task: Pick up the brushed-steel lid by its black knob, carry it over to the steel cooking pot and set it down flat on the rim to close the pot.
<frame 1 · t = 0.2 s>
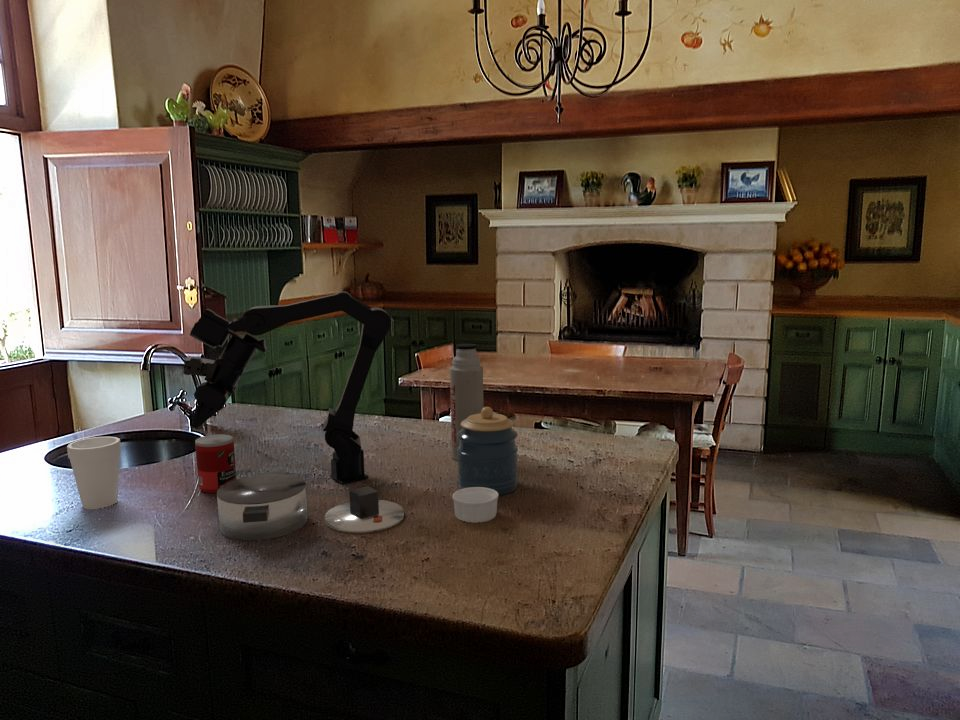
hand: (197, 422, 152), 15 cm above the worktop, tool tilted 30°, fingers open, 9 cm apart
canister: (487, 487, 153), on the worktop
foam cup: (100, 504, 146), on the worktop
ramekin: (475, 516, 137), on the worktop
thermos bottle: (468, 457, 174), on the worktop
lid: (364, 519, 137), on the worktop
pot: (264, 522, 134), on the worktop
canned food: (218, 488, 155), on the worktop
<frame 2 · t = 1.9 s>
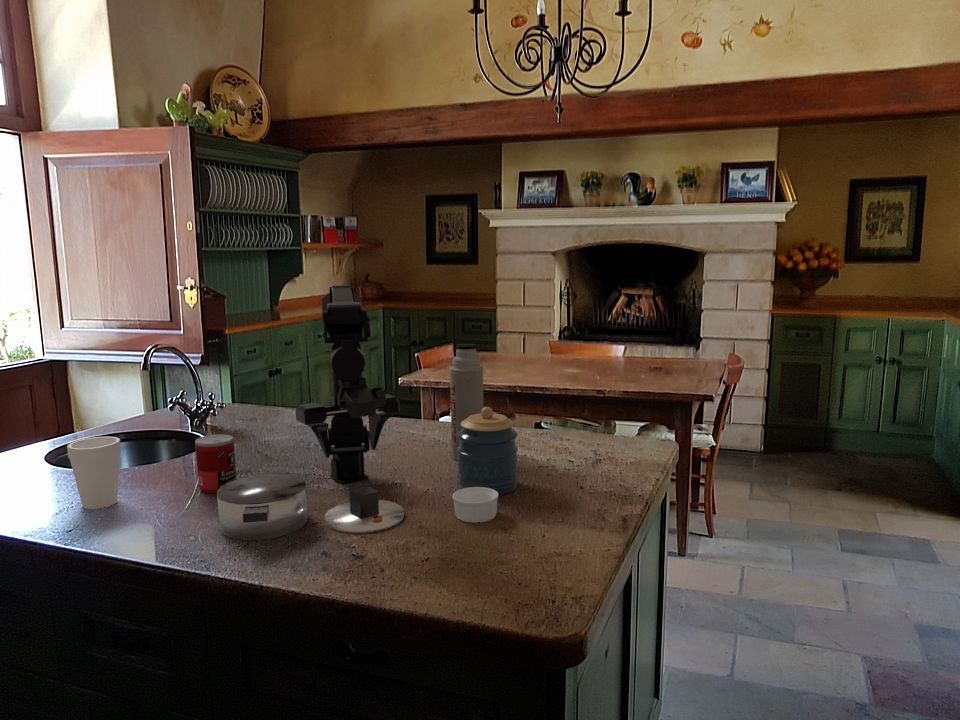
hand: (350, 453, 134), 13 cm above the worktop, tool pointing down, fingers open, 9 cm apart
nothing on the worktop moved.
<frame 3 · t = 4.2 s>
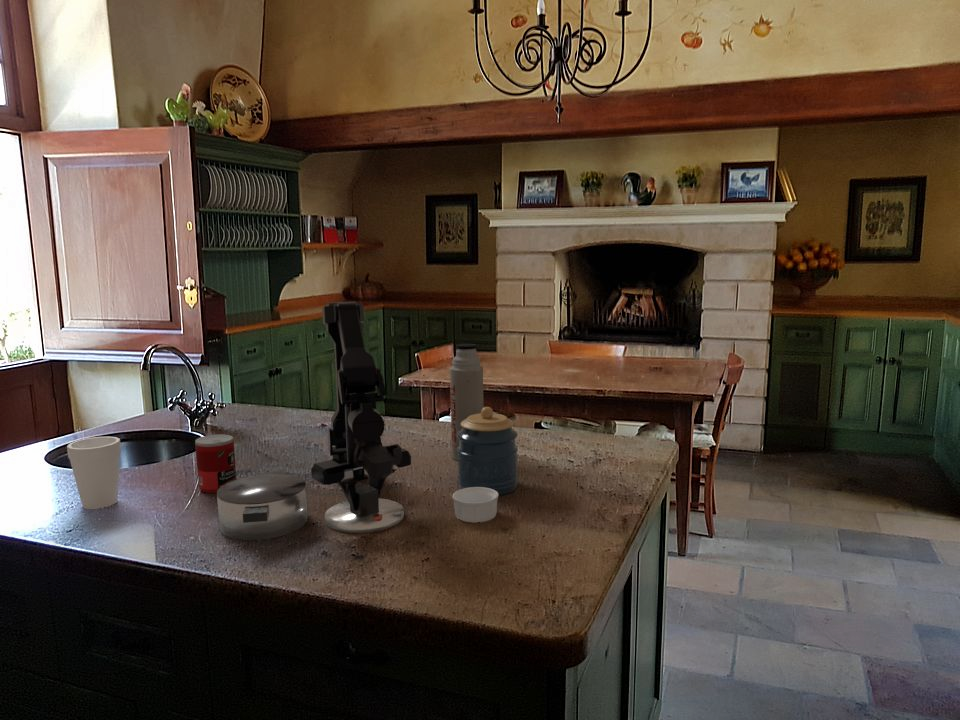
hand: (364, 507, 136), 2 cm above the worktop, tool pointing down, fingers closed on lid, 4 cm apart
lid: (364, 517, 137), on the worktop, touching gripper
everything else where it was.
when the fingers open (10 cm above the worktop, at t = 7.9 s): lid drops 1 cm, resting on pot.
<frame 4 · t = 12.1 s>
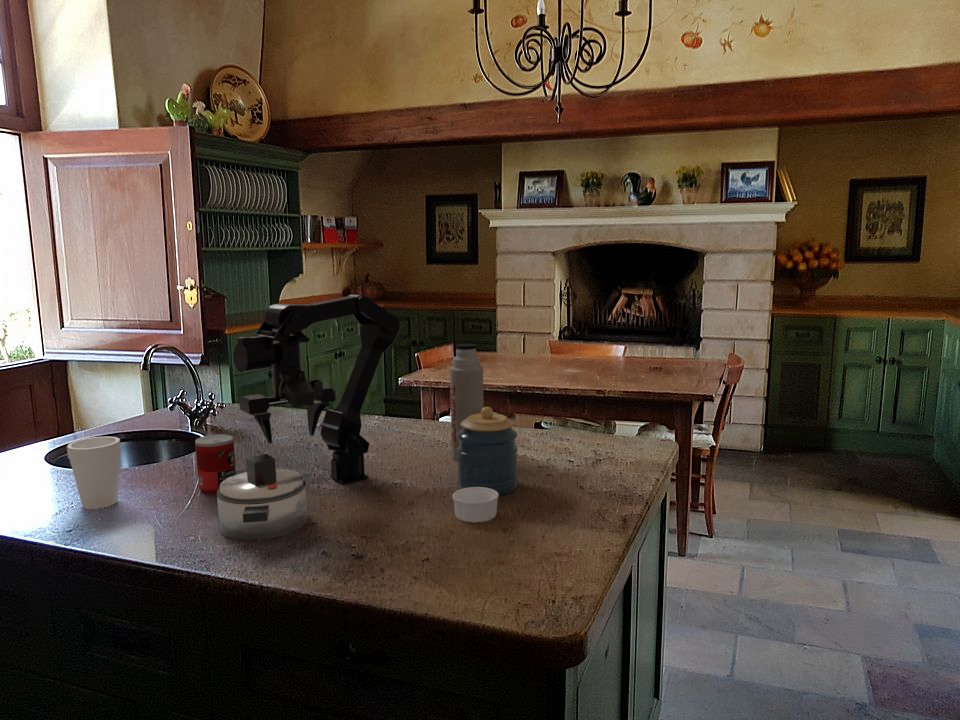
hand: (291, 439, 148), 12 cm above the worktop, tool pointing down, fingers open, 9 cm apart
lid: (262, 487, 133), point 7 cm above the worktop, touching pot
everything else where it was.
at the end: lid 0.1 cm off-centre on the pot, point 7.0 cm above the pot's base; lid tilted 0°; the gripper is holding nothing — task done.
